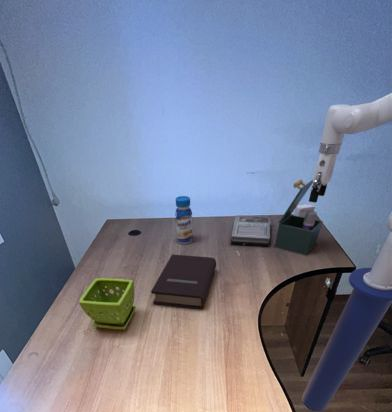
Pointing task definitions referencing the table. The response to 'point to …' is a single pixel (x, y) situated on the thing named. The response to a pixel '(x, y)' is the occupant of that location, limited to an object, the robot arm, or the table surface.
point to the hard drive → (251, 231)
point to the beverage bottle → (184, 220)
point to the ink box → (303, 210)
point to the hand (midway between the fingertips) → (316, 198)
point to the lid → (296, 198)
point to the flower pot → (109, 303)
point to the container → (309, 220)
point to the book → (184, 282)
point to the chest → (297, 235)
